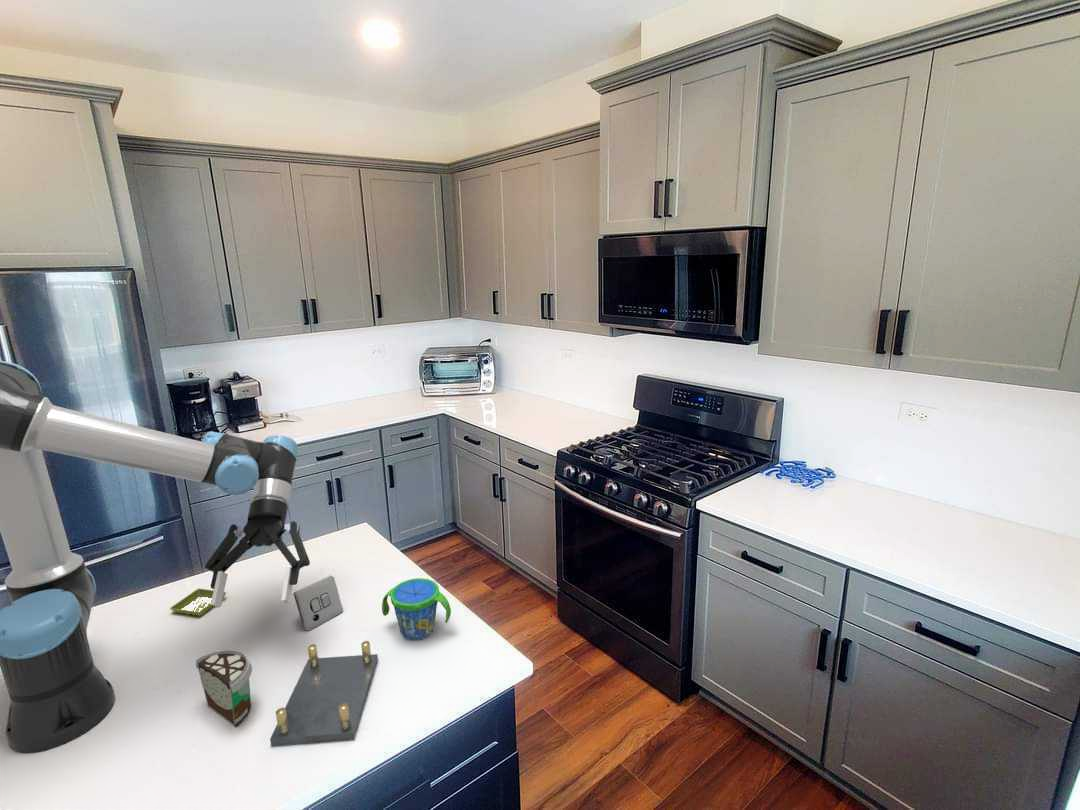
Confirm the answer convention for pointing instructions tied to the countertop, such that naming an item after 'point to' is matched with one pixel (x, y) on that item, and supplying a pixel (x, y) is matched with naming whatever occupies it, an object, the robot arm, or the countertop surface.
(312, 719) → the post plate
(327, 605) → the electrical switch
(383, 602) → the snack cup
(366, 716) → the countertop surface
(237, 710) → the food container
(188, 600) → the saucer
